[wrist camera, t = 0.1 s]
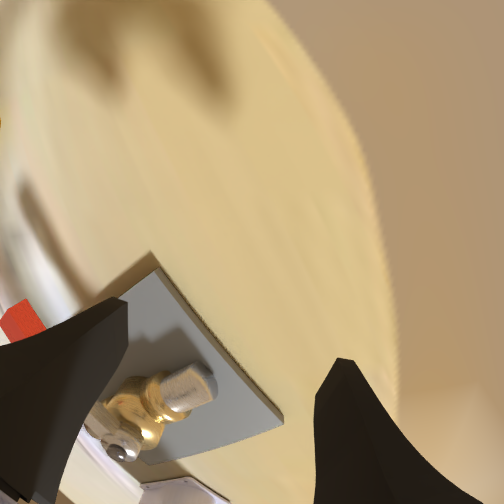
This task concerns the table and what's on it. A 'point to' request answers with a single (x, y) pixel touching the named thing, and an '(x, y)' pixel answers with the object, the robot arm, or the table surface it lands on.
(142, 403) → the valve
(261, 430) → the base board
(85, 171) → the table surface
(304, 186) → the table surface
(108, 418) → the lever
